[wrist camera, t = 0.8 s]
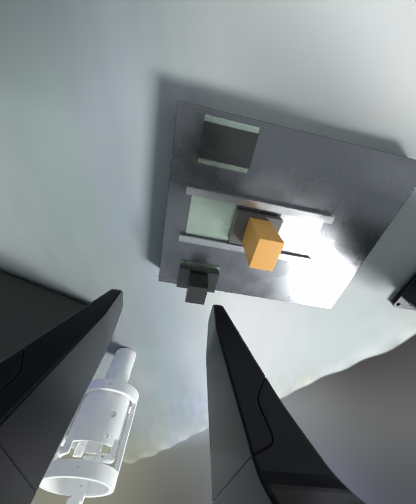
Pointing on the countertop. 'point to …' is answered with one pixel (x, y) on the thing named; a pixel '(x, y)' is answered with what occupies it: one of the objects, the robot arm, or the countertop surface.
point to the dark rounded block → (29, 312)
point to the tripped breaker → (257, 238)
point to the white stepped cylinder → (96, 435)
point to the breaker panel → (274, 206)
